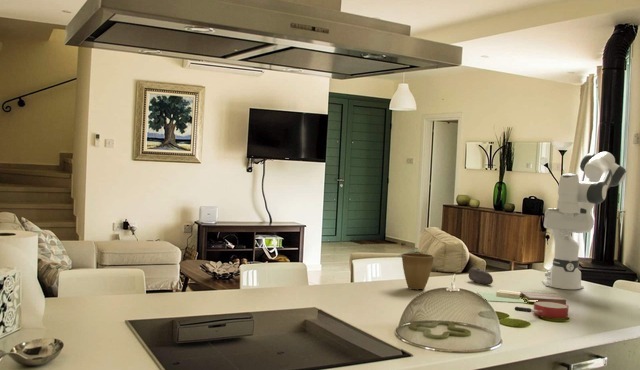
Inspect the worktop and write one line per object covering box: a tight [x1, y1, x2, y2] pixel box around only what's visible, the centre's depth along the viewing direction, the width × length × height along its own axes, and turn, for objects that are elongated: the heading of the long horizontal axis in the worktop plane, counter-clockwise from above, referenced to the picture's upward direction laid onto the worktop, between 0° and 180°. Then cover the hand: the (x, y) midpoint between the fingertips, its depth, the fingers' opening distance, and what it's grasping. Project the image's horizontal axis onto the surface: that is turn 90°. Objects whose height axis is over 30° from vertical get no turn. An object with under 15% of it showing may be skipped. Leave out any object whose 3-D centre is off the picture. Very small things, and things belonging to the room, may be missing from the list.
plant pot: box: [401, 252, 435, 290], centre depth 290 cm, size 15×15×16 cm
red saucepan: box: [514, 301, 570, 319], centre depth 241 cm, size 32×13×6 cm, turn 137°
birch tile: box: [495, 289, 522, 299], centre depth 282 cm, size 6×10×2 cm, turn 65°
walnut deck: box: [520, 291, 567, 305], centre depth 278 cm, size 14×16×2 cm
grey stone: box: [468, 267, 494, 286], centre depth 313 cm, size 15×5×7 cm, turn 28°
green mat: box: [476, 291, 528, 304], centre depth 278 cm, size 18×18×1 cm
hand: (565, 239), depth 283 cm, fingers closed
